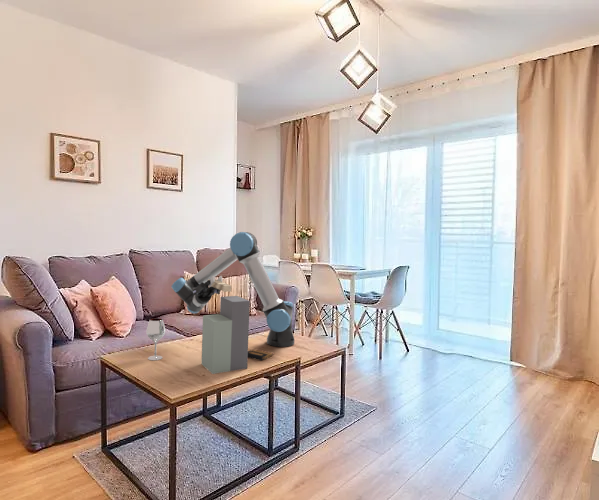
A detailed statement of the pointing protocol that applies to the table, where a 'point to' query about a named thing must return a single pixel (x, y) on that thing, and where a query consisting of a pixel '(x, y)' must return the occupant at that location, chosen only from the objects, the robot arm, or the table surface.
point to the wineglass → (155, 334)
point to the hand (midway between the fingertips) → (217, 278)
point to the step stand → (226, 336)
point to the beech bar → (221, 286)
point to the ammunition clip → (259, 354)
